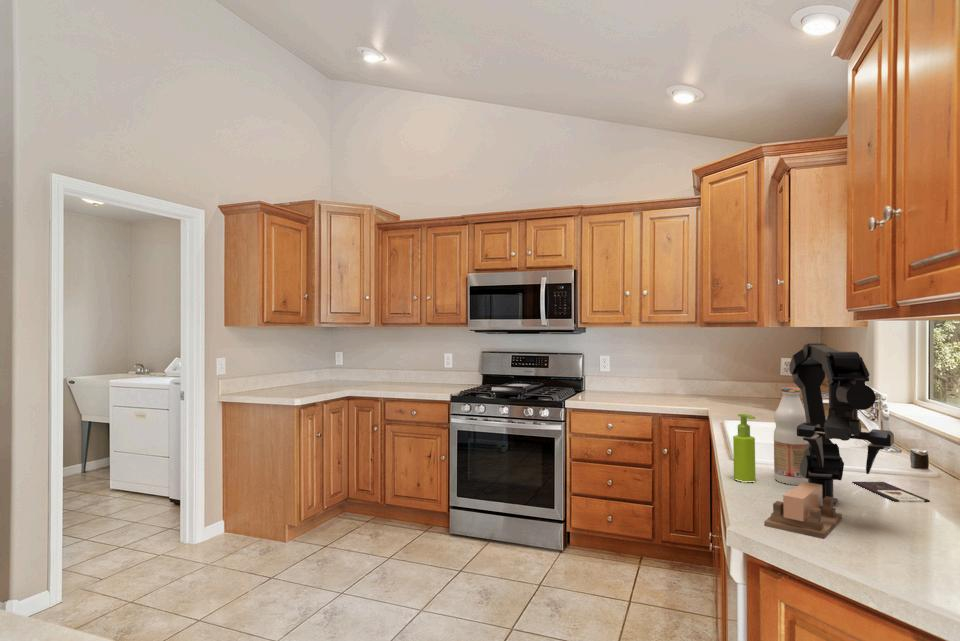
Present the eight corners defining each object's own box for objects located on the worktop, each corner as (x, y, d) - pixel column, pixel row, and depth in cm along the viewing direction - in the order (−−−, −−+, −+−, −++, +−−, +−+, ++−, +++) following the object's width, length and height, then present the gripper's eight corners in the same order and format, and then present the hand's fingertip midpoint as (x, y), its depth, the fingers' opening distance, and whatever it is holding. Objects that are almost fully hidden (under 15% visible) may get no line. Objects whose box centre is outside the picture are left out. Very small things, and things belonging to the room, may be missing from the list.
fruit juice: (770, 481, 165) (769, 388, 165) (779, 475, 172) (777, 385, 172) (806, 488, 158) (804, 390, 159) (813, 480, 165) (812, 387, 166)
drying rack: (786, 507, 141) (786, 487, 141) (842, 518, 133) (841, 497, 133) (764, 525, 128) (764, 503, 128) (824, 538, 120) (823, 515, 120)
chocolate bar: (883, 481, 163) (929, 500, 145) (884, 485, 163) (929, 504, 145) (852, 481, 163) (893, 499, 145) (852, 484, 163) (893, 503, 145)
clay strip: (804, 501, 137) (803, 481, 138) (822, 505, 135) (822, 484, 135) (783, 517, 126) (783, 495, 126) (803, 521, 123) (802, 498, 123)
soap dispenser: (745, 484, 162) (744, 416, 162) (729, 478, 169) (728, 413, 169) (762, 483, 163) (761, 415, 164) (746, 477, 170) (745, 412, 171)
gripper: (789, 404, 132) (790, 469, 131) (885, 411, 119) (887, 484, 118) (802, 399, 140) (803, 461, 139) (893, 406, 127) (895, 474, 127)
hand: (844, 470), depth 131 cm, fingers open, 9 cm apart
